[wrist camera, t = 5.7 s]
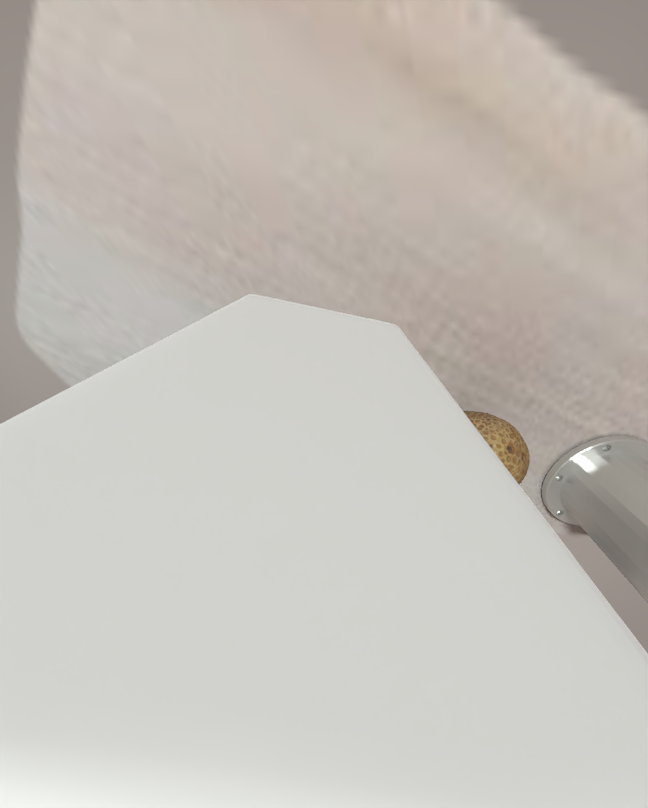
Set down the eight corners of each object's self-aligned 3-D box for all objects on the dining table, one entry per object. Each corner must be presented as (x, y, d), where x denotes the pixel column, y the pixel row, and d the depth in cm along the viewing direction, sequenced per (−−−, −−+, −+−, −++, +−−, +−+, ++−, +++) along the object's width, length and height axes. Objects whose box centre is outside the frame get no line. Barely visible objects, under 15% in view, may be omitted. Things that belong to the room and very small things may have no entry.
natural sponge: (481, 464, 37) (528, 534, 28) (404, 459, 37) (427, 527, 28) (505, 393, 33) (569, 448, 24) (419, 387, 33) (451, 440, 24)
